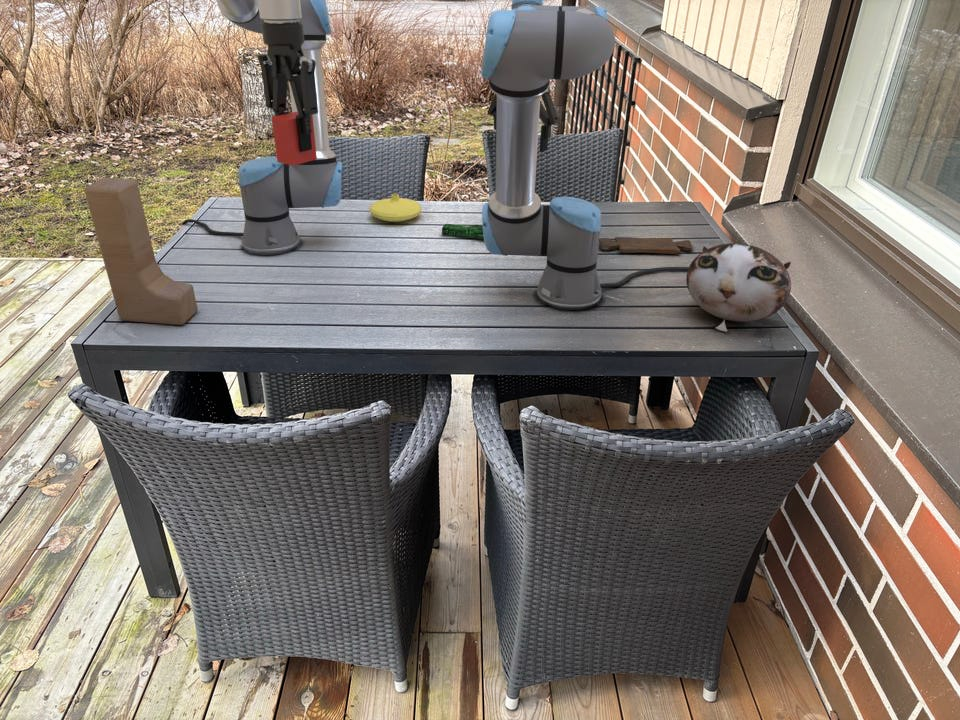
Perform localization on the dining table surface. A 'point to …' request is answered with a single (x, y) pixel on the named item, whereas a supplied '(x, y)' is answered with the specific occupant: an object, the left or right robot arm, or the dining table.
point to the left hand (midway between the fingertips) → (296, 147)
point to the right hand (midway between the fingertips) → (521, 147)
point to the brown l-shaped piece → (134, 257)
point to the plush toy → (738, 282)
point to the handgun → (464, 231)
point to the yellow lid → (395, 209)
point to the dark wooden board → (645, 245)
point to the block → (291, 140)
